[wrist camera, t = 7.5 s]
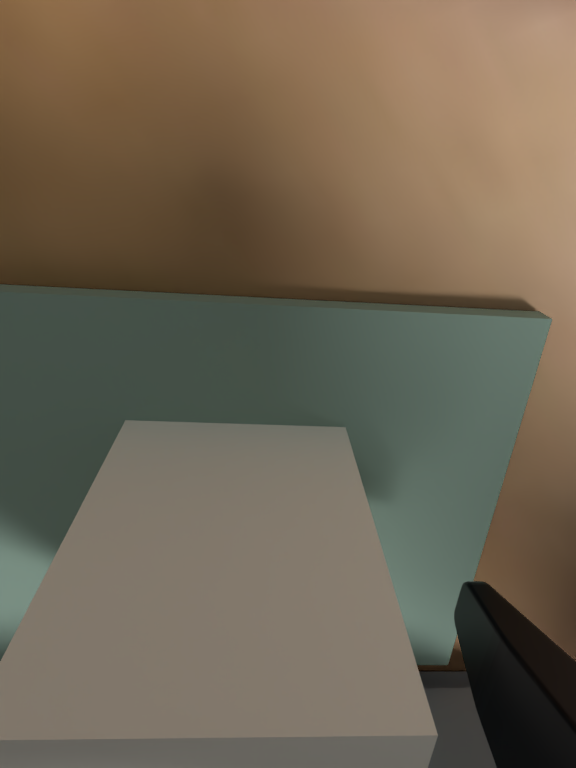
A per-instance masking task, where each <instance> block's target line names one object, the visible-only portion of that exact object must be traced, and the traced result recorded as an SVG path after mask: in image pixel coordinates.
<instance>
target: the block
mask: <svg viewBox="0 0 576 768" xmlns="http://www.w3.org/2000/svg"><path fill="white" fill-rule="evenodd" d="M437 737H438V734H437V730H436V727H435V724H434V720H433V717H432V714H431V710H430V707H429V704H428V700H427V697H426V694H425V690H424V687H423V684H422V680H421V677H420V674H419V670H418V667H417V664H416V660H415V657H414V654H413V650H412V647H411V644H410V640H409V637H408V634H407V630H406V627H405V624H404V620H403V617H402V614H401V610H400V607H399V604H398V600H397V597H396V594H395V590H394V587H393V584H392V580H391V577H390V574H389V570H388V567H387V564H386V560H385V557H384V554H383V550H382V547H381V544H380V540H379V537H378V534H377V530H376V527H375V524H374V520H373V517H372V514H371V510H370V507H369V504H368V500H367V497H366V494H365V490H364V487H363V484H362V480H361V477H360V474H359V470H358V467H357V464H356V460H355V457H354V454H353V450H352V447H351V444H350V440H349V437H348V434H347V430H346V427H325V426H294V425H262V424H230V423H198V422H167V421H135V420H125V422H124V424H123V426H122V428H121V430H120V432H119V434H118V435H117V437H116V439H115V441H114V443H113V445H112V447H111V449H110V451H109V453H108V455H107V457H106V459H105V461H104V462H103V464H102V466H101V468H100V470H99V472H98V474H97V476H96V478H95V480H94V482H93V484H92V486H91V488H90V489H89V491H88V493H87V495H86V497H85V499H84V501H83V503H82V505H81V507H80V509H79V511H78V513H77V515H76V516H75V518H74V520H73V522H72V524H71V526H70V528H69V530H68V532H67V534H66V536H65V538H64V540H63V542H62V543H61V545H60V547H59V549H58V551H57V553H56V555H55V557H54V559H53V561H52V563H51V565H50V567H49V569H48V570H47V572H46V574H45V576H44V578H43V580H42V582H41V584H40V586H39V588H38V590H37V592H36V594H35V596H34V597H33V599H32V601H31V603H30V605H29V607H28V609H27V611H26V613H25V615H24V617H23V619H22V621H21V623H20V624H19V626H18V628H17V630H16V632H15V634H14V636H13V638H12V640H11V642H10V644H9V646H8V648H7V650H6V651H5V653H4V655H3V657H2V659H1V661H0V768H428V765H429V762H430V759H431V756H432V753H433V750H434V746H435V743H436V740H437Z"/></svg>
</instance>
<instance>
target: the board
mask: <svg viewBox="0 0 576 768" xmlns="http://www.w3.org/2000/svg"><path fill="white" fill-rule="evenodd" d="M551 322H552V319H551V318H550V317H548V316H546V315H544V314H543V313H541V312H539V311H520V310H500V309H481V308H461V307H441V306H421V305H401V304H381V303H362V302H342V301H322V300H302V299H282V298H262V297H242V296H223V295H203V294H183V293H163V292H143V291H123V290H104V289H84V288H64V287H44V286H24V285H4V284H0V661H1V659H2V657H3V655H4V653H5V651H6V650H7V648H8V646H9V644H10V642H11V640H12V638H13V636H14V634H15V632H16V630H17V628H18V626H19V624H20V623H21V621H22V619H23V617H24V615H25V613H26V611H27V609H28V607H29V605H30V603H31V601H32V599H33V597H34V596H35V594H36V592H37V590H38V588H39V586H40V584H41V582H42V580H43V578H44V576H45V574H46V572H47V570H48V569H49V567H50V565H51V563H52V561H53V559H54V557H55V555H56V553H57V551H58V549H59V547H60V545H61V543H62V542H63V540H64V538H65V536H66V534H67V532H68V530H69V528H70V526H71V524H72V522H73V520H74V518H75V516H76V515H77V513H78V511H79V509H80V507H81V505H82V503H83V501H84V499H85V497H86V495H87V493H88V491H89V489H90V488H91V486H92V484H93V482H94V480H95V478H96V476H97V474H98V472H99V470H100V468H101V466H102V464H103V462H104V461H105V459H106V457H107V455H108V453H109V451H110V449H111V447H112V445H113V443H114V441H115V439H116V437H117V435H118V434H119V432H120V430H121V428H122V426H123V424H124V422H125V420H135V421H167V422H198V423H230V424H262V425H294V426H325V427H346V430H347V434H348V437H349V440H350V444H351V447H352V450H353V454H354V457H355V460H356V464H357V467H358V470H359V474H360V477H361V480H362V484H363V487H364V490H365V494H366V497H367V500H368V504H369V507H370V510H371V514H372V517H373V520H374V524H375V527H376V530H377V534H378V537H379V540H380V544H381V547H382V550H383V554H384V557H385V560H386V564H387V567H388V570H389V574H390V577H391V580H392V584H393V587H394V590H395V594H396V597H397V600H398V604H399V607H400V610H401V614H402V617H403V620H404V624H405V627H406V630H407V634H408V637H409V640H410V644H411V647H412V650H413V654H414V657H415V660H416V664H417V665H448V663H449V660H450V656H451V653H452V650H453V646H454V643H455V640H456V636H457V631H456V627H455V622H454V611H455V607H456V603H457V600H458V597H459V593H460V590H461V587H462V584H463V583H464V582H467V581H473V580H474V577H475V573H476V570H477V567H478V564H479V560H480V557H481V554H482V550H483V547H484V544H485V540H486V537H487V534H488V530H489V527H490V524H491V520H492V517H493V514H494V510H495V507H496V504H497V501H498V497H499V494H500V491H501V487H502V484H503V481H504V477H505V474H506V471H507V467H508V464H509V461H510V457H511V454H512V451H513V448H514V444H515V441H516V438H517V434H518V431H519V428H520V424H521V421H522V418H523V414H524V411H525V408H526V404H527V401H528V398H529V394H530V391H531V388H532V385H533V381H534V378H535V375H536V371H537V368H538V365H539V361H540V358H541V355H542V351H543V348H544V345H545V341H546V338H547V335H548V331H549V328H550V325H551Z"/></svg>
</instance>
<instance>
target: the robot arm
mask: <svg viewBox="0 0 576 768" xmlns="http://www.w3.org/2000/svg"><path fill="white" fill-rule="evenodd" d="M454 622H455V627H456V631H457V635H458V639H459V643H460V647H461V651H462V655H463V659H464V663H465V667H466V671H467V675H468V679H469V683H470V687H471V692H472V695H473V699H474V703H475V706H476V710H477V713H478V716H479V719H480V722H481V725H482V727H483V730H484V733H485V736H486V739H487V742H488V744H489V747H490V750H491V753H492V756H493V759H494V761H495V764H496V767H497V768H576V661H575V660H573V659H572V658H571V657H570V656H569V655H568V654H567V653H565V652H564V651H563V650H562V649H561V648H560V647H559V646H558V645H556V644H555V643H554V642H553V641H552V640H551V639H550V638H549V637H547V636H546V635H545V634H544V633H543V632H542V631H541V630H540V629H538V628H537V627H536V626H535V625H534V624H533V623H532V622H531V621H529V620H528V619H527V618H526V617H525V616H524V615H523V614H521V613H520V612H519V611H518V610H517V609H516V608H515V607H514V606H512V605H511V604H510V603H509V602H508V601H507V600H506V599H505V598H503V597H502V596H501V595H500V594H499V593H498V592H497V591H496V590H494V589H493V588H492V587H491V586H490V585H489V584H487V583H485V582H480V581H467V582H464V583H463V584H462V587H461V590H460V593H459V597H458V600H457V603H456V607H455V611H454Z"/></svg>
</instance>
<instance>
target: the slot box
mask: <svg viewBox="0 0 576 768" xmlns="http://www.w3.org/2000/svg"><path fill="white" fill-rule="evenodd" d="M419 674H420V677H421V680H422V684H423V687H424V690H425V694H426V697H427V700H428V704H429V707H430V710H431V714H432V717H433V720H434V724H435V727H436V730H437V734H438V737H437V740H436V743H435V746H434V750H433V753H432V756H431V759H430V762H429V765H428V768H497V767H496V764H495V761H494V759H493V756H492V753H491V750H490V747H489V744H488V742H487V739H486V736H485V733H484V730H483V727H482V725H481V722H480V719H479V716H478V713H477V710H476V706H475V703H474V699H473V695H472V692H471V687H470V683H469V679H468V675H467V672H419Z"/></svg>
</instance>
